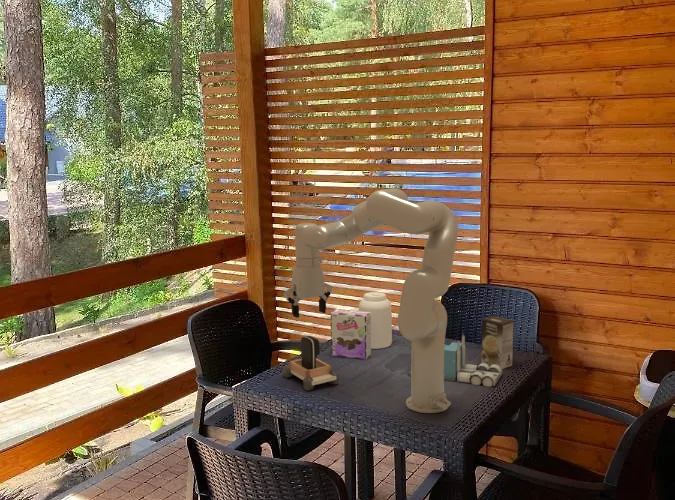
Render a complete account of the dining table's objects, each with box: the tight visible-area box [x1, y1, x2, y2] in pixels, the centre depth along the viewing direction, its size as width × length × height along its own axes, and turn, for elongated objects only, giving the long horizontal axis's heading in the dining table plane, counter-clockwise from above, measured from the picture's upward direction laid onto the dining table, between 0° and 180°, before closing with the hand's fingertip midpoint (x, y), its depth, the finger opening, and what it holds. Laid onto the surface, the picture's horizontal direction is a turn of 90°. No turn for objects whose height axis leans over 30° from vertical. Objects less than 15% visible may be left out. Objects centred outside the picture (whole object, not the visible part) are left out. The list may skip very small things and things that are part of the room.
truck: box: [407, 332, 503, 388], centre depth 221 cm, size 12×29×15 cm, turn 65°
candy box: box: [330, 308, 372, 360], centre depth 244 cm, size 14×6×16 cm, turn 67°
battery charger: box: [300, 335, 321, 370], centre depth 219 cm, size 7×4×11 cm, turn 33°
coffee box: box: [480, 315, 515, 370], centre depth 231 cm, size 9×6×16 cm
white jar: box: [358, 291, 393, 350], centre depth 256 cm, size 12×12×20 cm
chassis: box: [282, 357, 340, 392], centre depth 220 cm, size 18×11×6 cm, turn 32°
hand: (309, 314), depth 217 cm, fingers open, 9 cm apart
